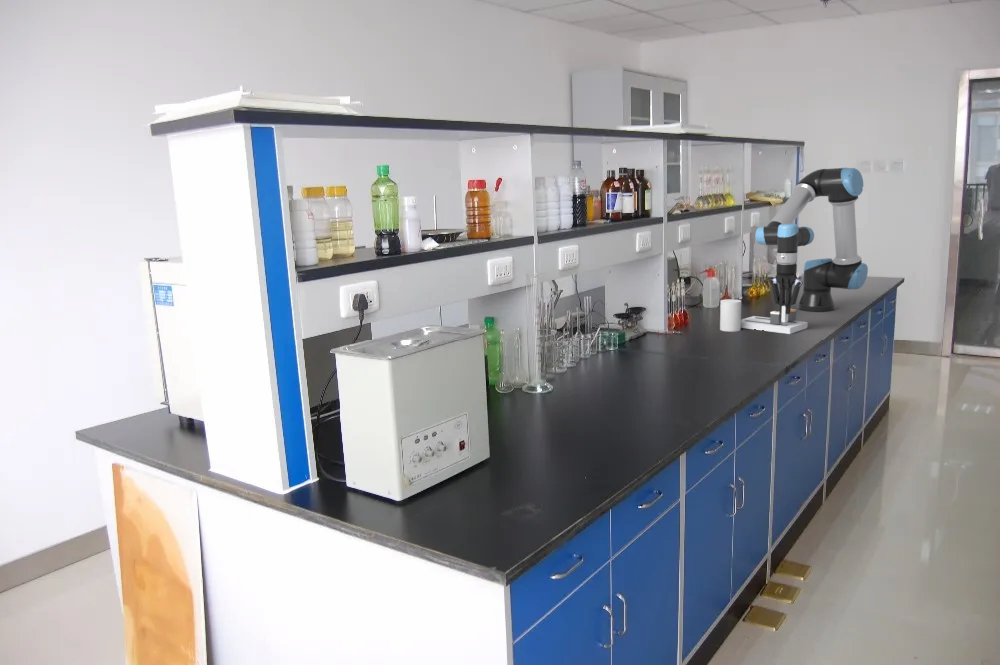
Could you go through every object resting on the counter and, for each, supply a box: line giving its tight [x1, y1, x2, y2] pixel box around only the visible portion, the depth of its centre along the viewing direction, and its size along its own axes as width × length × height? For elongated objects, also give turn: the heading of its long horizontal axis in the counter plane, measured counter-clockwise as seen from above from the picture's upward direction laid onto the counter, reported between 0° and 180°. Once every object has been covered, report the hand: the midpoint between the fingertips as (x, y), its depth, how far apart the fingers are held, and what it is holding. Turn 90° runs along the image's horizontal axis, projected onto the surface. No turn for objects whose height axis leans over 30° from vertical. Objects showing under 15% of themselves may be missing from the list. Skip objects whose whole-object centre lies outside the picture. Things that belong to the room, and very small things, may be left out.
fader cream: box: [769, 310, 782, 324], centre depth 297 cm, size 3×4×5 cm
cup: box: [719, 298, 742, 333], centre depth 303 cm, size 8×8×12 cm
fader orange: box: [788, 308, 797, 322], centre depth 301 cm, size 3×4×5 cm
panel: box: [741, 315, 809, 335], centre depth 304 cm, size 15×24×3 cm, turn 42°
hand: (784, 321), depth 295 cm, fingers closed
